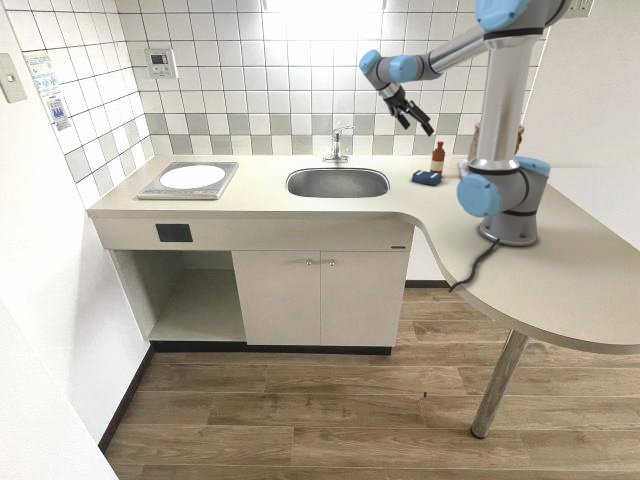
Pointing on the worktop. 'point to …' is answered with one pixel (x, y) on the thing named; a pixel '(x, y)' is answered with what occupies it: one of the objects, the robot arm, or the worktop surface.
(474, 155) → the cookie jar
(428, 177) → the towel
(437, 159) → the bottle
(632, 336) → the worktop surface
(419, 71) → the robot arm
